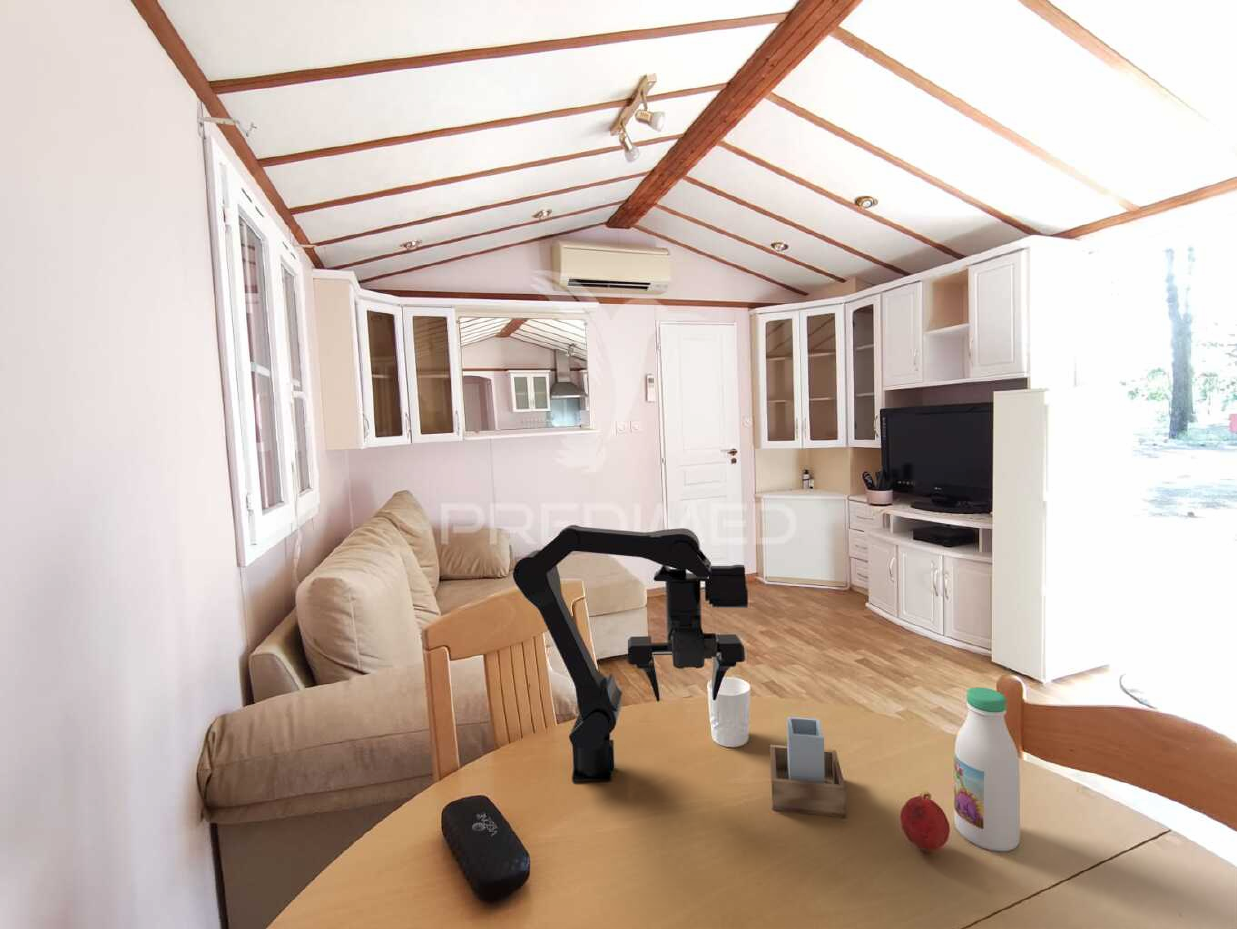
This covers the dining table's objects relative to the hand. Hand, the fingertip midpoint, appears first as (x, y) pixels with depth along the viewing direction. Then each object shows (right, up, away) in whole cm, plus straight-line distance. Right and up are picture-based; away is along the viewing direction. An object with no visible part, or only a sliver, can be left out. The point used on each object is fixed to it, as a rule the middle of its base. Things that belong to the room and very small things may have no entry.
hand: (686, 699), depth 96 cm
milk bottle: (+40, -13, -15) cm, 45 cm away
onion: (+30, -13, -18) cm, 37 cm away
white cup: (+10, -12, +12) cm, 20 cm away
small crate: (+18, -12, -5) cm, 22 cm away
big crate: (+18, -13, -5) cm, 23 cm away
